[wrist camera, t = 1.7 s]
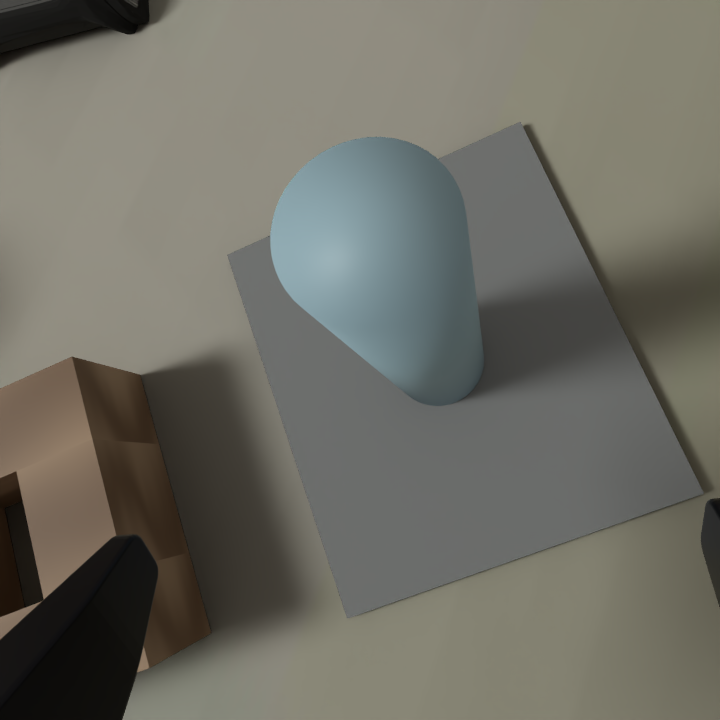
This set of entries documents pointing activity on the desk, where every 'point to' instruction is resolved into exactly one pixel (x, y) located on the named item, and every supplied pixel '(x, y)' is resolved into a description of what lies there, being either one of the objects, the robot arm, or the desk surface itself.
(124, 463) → the hole block
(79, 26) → the electric trimmer
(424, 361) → the peg
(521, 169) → the mat
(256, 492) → the desk surface
